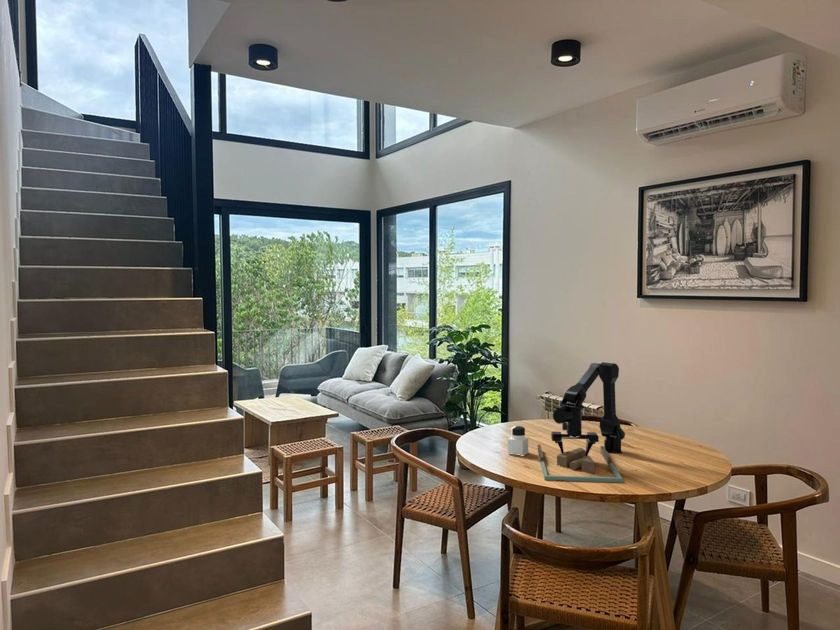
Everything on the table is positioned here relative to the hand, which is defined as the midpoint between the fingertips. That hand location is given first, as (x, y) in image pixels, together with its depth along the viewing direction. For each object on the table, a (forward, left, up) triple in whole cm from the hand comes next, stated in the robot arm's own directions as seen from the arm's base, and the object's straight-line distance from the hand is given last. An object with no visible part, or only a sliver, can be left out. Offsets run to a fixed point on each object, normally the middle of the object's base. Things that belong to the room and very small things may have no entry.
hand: (574, 457), depth 238 cm
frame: (0, +15, -2) cm, 15 cm away
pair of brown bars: (0, -5, -2) cm, 6 cm away
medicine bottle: (+23, -10, -2) cm, 25 cm away
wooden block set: (-4, +4, -3) cm, 6 cm away
